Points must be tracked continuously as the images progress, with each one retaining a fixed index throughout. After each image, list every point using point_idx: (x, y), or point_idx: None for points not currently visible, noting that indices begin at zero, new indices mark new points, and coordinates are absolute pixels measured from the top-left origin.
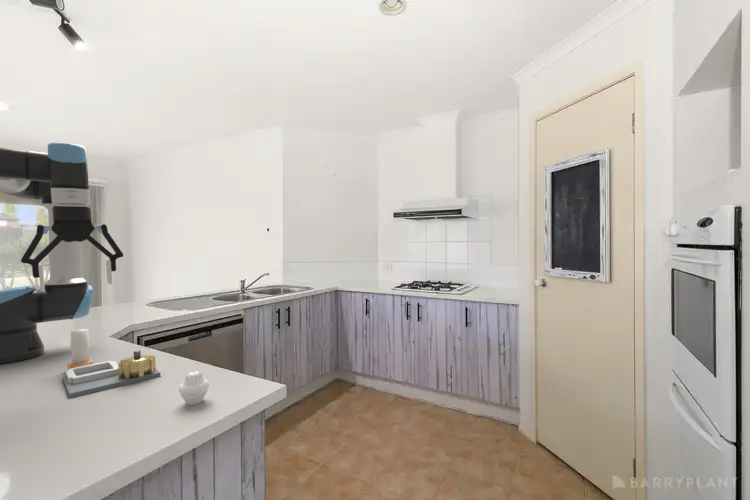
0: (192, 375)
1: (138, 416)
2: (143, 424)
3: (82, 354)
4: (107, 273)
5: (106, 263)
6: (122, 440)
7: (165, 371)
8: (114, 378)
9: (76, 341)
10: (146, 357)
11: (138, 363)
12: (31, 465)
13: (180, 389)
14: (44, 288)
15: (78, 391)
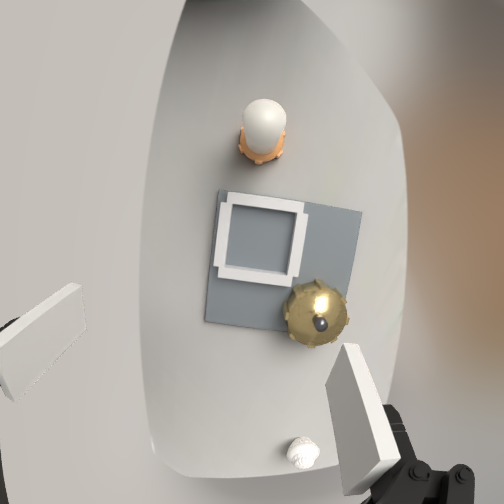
0: (299, 468)
1: (247, 434)
2: (243, 448)
3: (262, 151)
4: (345, 403)
5: (366, 443)
6: (220, 456)
7: (351, 314)
8: (275, 303)
9: (251, 140)
10: (332, 325)
11: (307, 344)
12: (163, 440)
13: (287, 456)
14: (81, 334)
15: (216, 322)
